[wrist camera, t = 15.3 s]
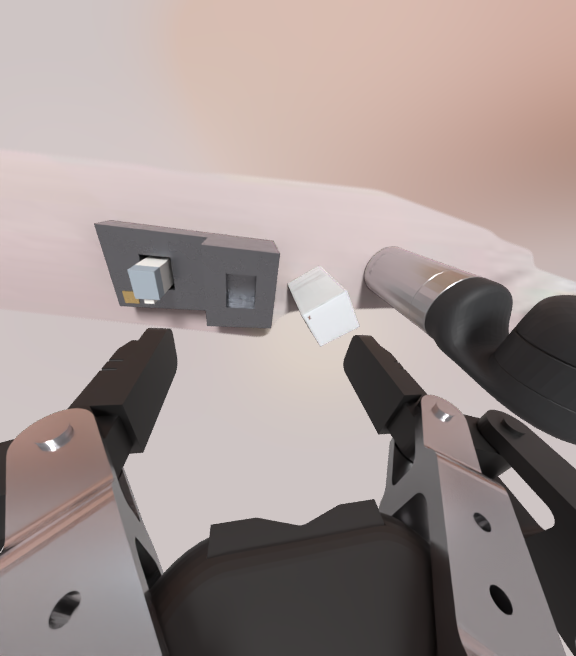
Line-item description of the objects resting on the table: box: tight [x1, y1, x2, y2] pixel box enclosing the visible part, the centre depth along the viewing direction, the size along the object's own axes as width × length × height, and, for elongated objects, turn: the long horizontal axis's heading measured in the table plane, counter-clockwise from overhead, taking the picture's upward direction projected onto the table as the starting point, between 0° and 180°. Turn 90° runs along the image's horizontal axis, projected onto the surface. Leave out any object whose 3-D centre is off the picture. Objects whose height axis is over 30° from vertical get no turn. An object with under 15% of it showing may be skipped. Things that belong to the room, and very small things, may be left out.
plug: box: [127, 255, 174, 304], centre depth 31 cm, size 3×5×8 cm, turn 172°
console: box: [94, 220, 280, 328], centre depth 32 cm, size 24×12×9 cm, turn 82°
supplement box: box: [288, 266, 360, 346], centre depth 36 cm, size 7×7×13 cm
